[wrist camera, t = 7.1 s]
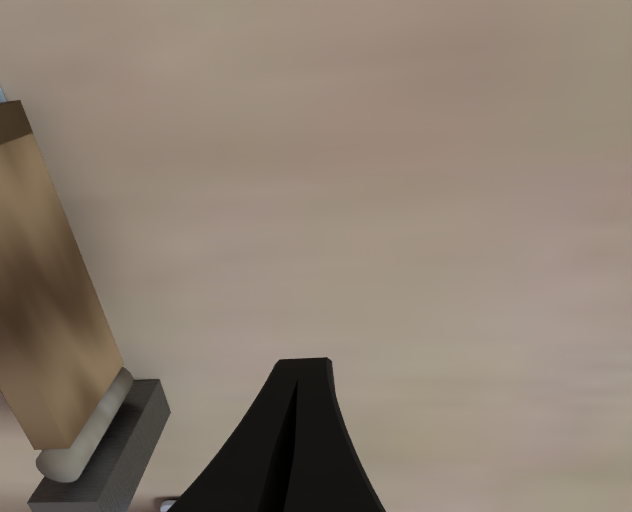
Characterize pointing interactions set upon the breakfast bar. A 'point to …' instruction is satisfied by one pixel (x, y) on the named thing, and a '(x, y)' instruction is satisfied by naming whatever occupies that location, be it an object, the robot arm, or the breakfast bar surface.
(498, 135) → the breakfast bar surface
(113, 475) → the hinge post
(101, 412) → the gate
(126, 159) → the breakfast bar surface
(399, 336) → the breakfast bar surface
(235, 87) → the breakfast bar surface
